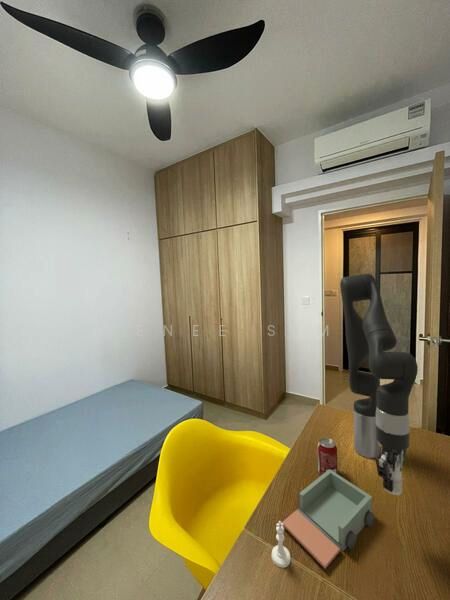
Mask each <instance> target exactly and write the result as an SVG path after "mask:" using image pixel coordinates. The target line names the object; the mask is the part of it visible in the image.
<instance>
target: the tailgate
mask: <svg viewBox="0 0 450 600" xmlns="http://www.w3.org/2000/svg"><path fill="white" fill-rule="evenodd" d="M281 523H283V526H282V527H283V528H284V529H286V530H287V531H288V532H289V534H290V535H291V536H292V537H293V538H294V539H296V541H297V542H298V543H299V544H301V546H302V547H303V548H304V549H305V550H306V551H307V552H308V553H309V554H310V555H311V556H312V557H313V558H314V559H315V561H316V562H318V563H319V564H320V566H321V567H323V569H324V570H326V569H327V568H328V566H329V565H330V564H331V563H332V562H333V560H334V559H335V558H336V557H337V555H339V553H340V552H342V550H341V549H342V547H341V546H340V545H339V544H338V543H336V542H335V541H334V540H333V539H332V538H331V537H330V536H329V535H327V534H326V533H325V532H324V531H323V530H322V529H321V528H320V527H319V526H317V525H316V524H315V523H314V522H313V521H312V520H311V519H310V518H308V517H307V516H306V515H305V514H304V513H303V512H302V511H301V510H300V508H297V509H295V511H293V512H292V513H291V514H290V515H289V516H287V518H285V519H284V520H283V521H281Z"/></svg>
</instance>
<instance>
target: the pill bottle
mask: <svg viewBox="0 0 450 600" xmlns="http://www.w3.org/2000/svg"><path fill="white" fill-rule="evenodd" d="M388 464H389V463H388ZM389 465H391V464H389ZM391 466H393V465H391ZM389 472H390V470H389ZM383 489H384V490H385V491H386V492H387V493H389V494H391V495H394V496H400V495H401V494H403V493H402V492H403V474H402V470H401V471H400V464H399V462H397V470H396V471H394V475H393V491H392V492H390V491H388V490H386V489H385V488H384V487H383Z"/></svg>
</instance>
